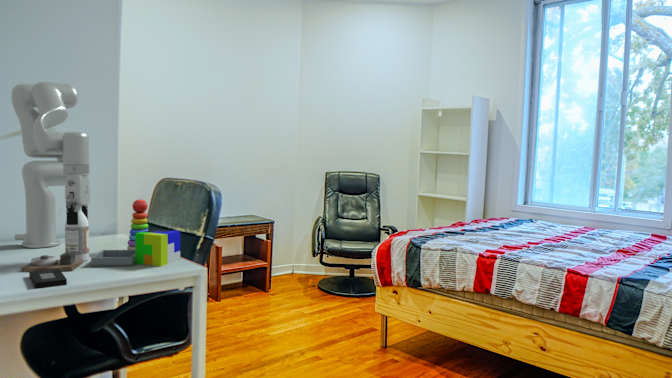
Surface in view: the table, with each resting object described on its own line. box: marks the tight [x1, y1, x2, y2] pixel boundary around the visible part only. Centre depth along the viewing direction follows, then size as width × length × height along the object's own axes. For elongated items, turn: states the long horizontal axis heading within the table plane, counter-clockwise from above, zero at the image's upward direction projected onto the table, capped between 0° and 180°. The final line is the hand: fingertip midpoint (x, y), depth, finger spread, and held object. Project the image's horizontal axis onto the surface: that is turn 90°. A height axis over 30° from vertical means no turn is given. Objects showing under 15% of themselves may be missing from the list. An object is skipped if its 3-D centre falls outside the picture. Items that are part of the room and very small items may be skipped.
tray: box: [90, 249, 136, 268], centre depth 165 cm, size 12×12×3 cm
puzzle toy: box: [135, 228, 181, 267], centre depth 167 cm, size 10×10×10 cm
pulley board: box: [20, 247, 84, 272], centre depth 156 cm, size 14×10×6 cm
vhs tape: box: [29, 269, 68, 290], centre depth 141 cm, size 8×14×2 cm, turn 36°
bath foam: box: [64, 204, 90, 263], centre depth 165 cm, size 7×7×20 cm
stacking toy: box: [126, 198, 149, 250], centre depth 184 cm, size 8×8×19 cm
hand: (77, 222), depth 165 cm, fingers open, 9 cm apart
